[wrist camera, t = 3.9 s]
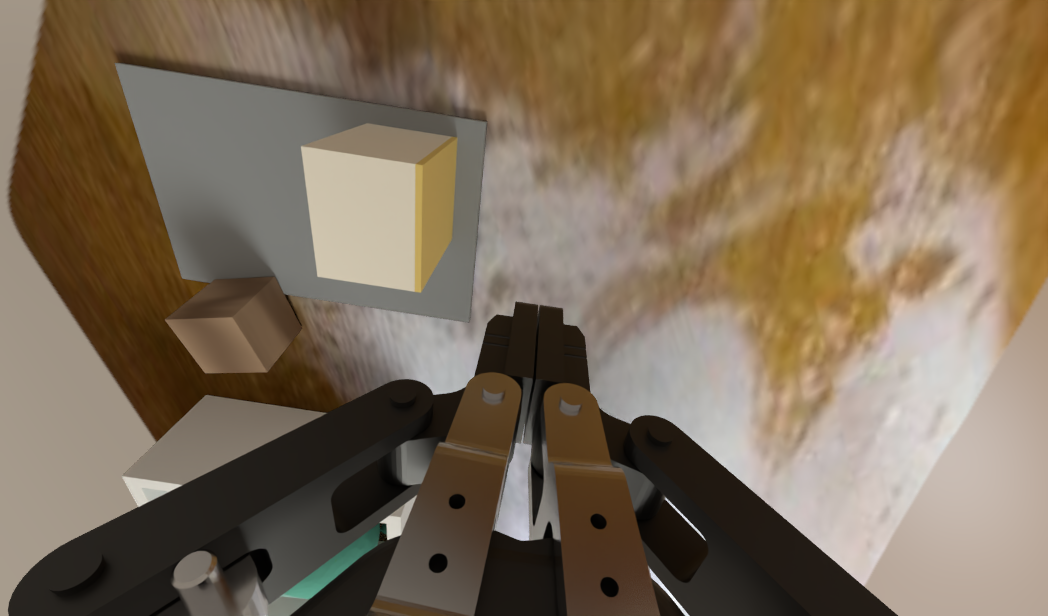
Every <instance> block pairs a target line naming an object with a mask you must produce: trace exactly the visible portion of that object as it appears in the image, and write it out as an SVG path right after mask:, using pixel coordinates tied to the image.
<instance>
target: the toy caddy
mask: <svg viewBox="0 0 1048 616" xmlns="http://www.w3.org/2000/svg"><path fill="white" fill-rule="evenodd" d="M324 414H326V413H323V412H316V411H310V410H303V409H296V408H290V407H283V406H276V405H270V404H263V403H257V402H250V401H243V400H237V399H230V398H223V397H217V396H210V395H205V396H204V397H203V398H202V399H201V400H200V401H199V402H198V403H197V404H196V405H195V406H194V407H193V408H192V409H191V410H190V411H189V412H188V413H187V414H186V415H185V416H184V417H183V418H181V419H180V420H179V421H178V422H177V423H176V424H175V425H174V426H173V427H172V428H171V429H170V430H169V431H168V432H167V433H166V434H165V435H164V436H163V437H162V438H161V439H160V440H159V441H158V442H156V443H155V444H154V445H153V446H152V447H151V448H150V449H149V450H148V451H147V452H146V453H145V454H144V455H143V456H142V457H141V458H140V459H139V460H138V461H137V462H136V463H135V464H134V465H133V466H132V467H131V468H129V469H128V470H127V471H126V472H125V473H124V474H123V475H122V478H123V480H124V481H125V483H126V485H127V487H128V489H129V491H130V493H131V494H132V496H133V498H134V500H135V502H136V504H137V505H138V507H139V506H141V505H143V504H145V503H147V502H149V501H152V500H154V499H156V498H158V497H160V496H162V495H164V494H166V493H168V492H170V491H172V490H174V489H176V488H178V487H180V486H182V485H184V484H186V483H188V482H190V481H192V480H194V479H196V478H198V477H200V476H202V475H204V474H206V473H208V472H210V471H212V470H214V469H216V468H218V467H220V466H222V465H224V464H226V463H228V462H230V461H232V460H234V459H236V458H238V457H240V456H242V455H244V454H246V453H248V452H250V451H252V450H254V449H256V448H258V447H260V446H262V445H264V444H266V443H268V442H270V441H272V440H274V439H276V438H278V437H280V436H282V435H284V434H286V433H288V432H290V431H292V430H294V429H296V428H298V427H300V426H302V425H304V424H306V423H308V422H310V421H312V420H314V419H316V418H318V417H320V416H322V415H324ZM416 497H417V495H416V496H415V497H414V498H412V499H411V500H410V501H408V502H407V503H406V504H404V505H403V506H401V507H400V508H399V509H397V510H396V511H395V512H393V513H392V514H391V515H389V516H388V517H387V518H385V519H384V520H383V521H381V522H380V523H385V524H387V540H389V539H392V538H394V537H397V536H400V535H401V534H402V531H403V529H404V526H405V524H406V521H407V519H408V516H409V514H410V511H411V509H412V506H413V504H414V502H415V499H416ZM383 542H385V541H378V545H379V544H381V543H383ZM308 600H309V599H300V598H291V597H282V596H280V597H279V598H278V599H276V600H275V601H273V602H272V603H271V604H269V605H268V614H267V616H290V615H291V614H292V613H293V612H295V611H296V610H297V609H298V608H299V607H301V606H302V605H303V604H304V603H306V602H307V601H308Z"/></svg>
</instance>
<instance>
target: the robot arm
mask: <svg viewBox="0 0 1048 616" xmlns="http://www.w3.org/2000/svg"><path fill="white" fill-rule="evenodd" d="M537 316H538V317H537ZM586 358H587V355H586V345H585V337H584V335H583V334H582V333H581V331H580V330H579V328H578V327H577V326H572V325H565V324H563V309H562V308H556V307H550V306H543V305H540V307H539V311H538V305H536V304H529V303H522V302H516V303H515V309H514V315H513V317H510V316H504V315H496V316H495V317H494V318H492V319H491V320H490V321H489V322H488V324H487V328H486V332H485V336H484V340H483V344H482V348H481V352H480V356H479V360H478V364H477V368H476V372H475V376H474V377H473V378H472V379H471V380H470V381H469V382H468V384H467V386H466V387H465V388H463V389H461V390H459V391H456V392H453V393H447V394H438V395H433V393H432V391H431V390H430V388H429V387H428V386H426V385H425V384H423V383H421V382H419V381H416V380H409V379H402V380H395V381H392V382H389V383H387V384H385V385H383V386H381V387H379V388H377V389H375V390H373V391H371V392H369V393H367V394H365V395H363V396H361V397H359V398H357V399H355V400H353V401H351V402H349V403H347V404H345V405H343V406H341V407H339V408H337V409H335V410H332V411H330V412H328V413H326V414H324V415H322V416H320V417H318V418H316V419H314V420H312V421H310V422H308V423H306V424H304V425H302V426H300V427H298V428H296V429H294V430H292V431H290V432H288V433H286V434H284V435H282V436H280V437H278V438H276V439H274V440H272V441H270V442H268V443H266V444H264V445H262V446H260V447H258V448H256V449H254V450H252V451H250V452H248V453H246V454H244V455H242V456H240V457H238V458H236V459H234V460H232V461H230V462H228V463H226V464H224V465H222V466H220V467H218V468H216V469H214V470H212V471H210V472H208V473H206V474H204V475H202V476H200V477H198V478H196V479H194V480H192V481H190V482H188V483H186V484H184V485H182V486H180V487H178V488H176V489H174V490H172V491H170V492H168V493H166V494H164V495H162V496H160V497H158V498H156V499H154V500H152V501H149V502H147V503H145V504H143V505H141V506H139V507H137V508H135V509H133V510H131V511H130V512H127V513H125V514H123V515H121V516H119V517H117V518H115V519H113V520H111V521H109V522H107V523H105V524H103V525H101V526H99V527H97V528H95V529H93V530H91V531H89V532H87V533H85V534H83V535H81V536H79V537H77V538H75V539H73V540H71V541H69V542H67V543H66V544H64V545H62V546H60V547H59V548H57V549H56V550H54V551H53V552H51V553H50V554H48V555H47V556H45V557H44V558H43V559H42V560H40V561H39V562H38V563H37V564H36V565H35V566H34V567H33V568H31V569H30V571H29V572H28V573H27V574H26V575H25V576H24V577H23V579H22V580H21V581H20V582H19V584H18V585H17V587H16V589H15V590H14V592H13V594H12V597H11V599H10V602H9V607H8V613H9V616H267V614H268V605H269V604H271V603H272V602H273V601H275V600H276V599H278V598H279V597H280V596H282V595H283V594H284V593H286V592H287V591H288V590H290V589H291V588H292V587H294V586H295V585H296V584H298V583H299V582H300V581H302V580H303V579H304V578H306V577H307V576H309V575H310V574H311V573H313V572H314V571H315V570H317V569H318V568H319V567H321V566H322V565H323V564H325V563H326V562H327V561H329V560H330V559H331V558H333V557H334V556H335V555H337V554H338V553H339V552H341V551H342V550H344V549H345V548H346V547H348V546H349V545H350V544H352V543H353V542H354V541H356V540H357V539H358V538H360V537H361V536H362V535H364V534H365V533H366V532H368V531H369V530H370V529H372V528H373V527H375V526H376V525H377V524H379V523H380V522H381V521H383V520H384V519H385V518H387V517H388V516H389V515H391V514H392V513H393V512H395V511H396V510H397V509H399V508H400V507H401V506H403V505H404V504H406V503H407V502H408V501H410V500H411V499H412V498H414V497H415V496H416V495H417V497H416V499H415V502H414V504H413V506H412V509H411V511H410V514H409V516H408V519H407V521H406V524H405V526H404V529H403V531H402V534H401V535H400V536H397V537H394V538H392V539H389V540H387V541H385V542H383V543H381V544H379V545H377V546H376V547H374V548H373V549H371V550H370V551H368V552H367V553H365V554H364V555H363V556H361V557H360V558H359V559H358V560H356V561H355V562H354V563H353V564H351V565H350V566H349V567H348V568H347V569H345V570H344V571H343V572H342V573H341V574H339V575H338V576H337V577H336V578H335V579H333V580H332V581H331V582H330V583H328V584H327V585H326V586H325V587H324V588H322V589H321V590H320V591H319V592H318V593H316V594H315V595H314V596H313V597H312V598H310V599H309V600H308V601H307V602H306V603H304V604H303V605H302V606H301V607H299V608H298V609H297V610H296V611H295V612H293V613H292V614H291V615H290V616H685V615H684V614H683V613H682V611H681V610H680V609H679V608H678V606H677V605H676V604H675V602H674V601H673V600H672V599H671V598H670V596H669V595H668V594H667V593H666V592H665V591H664V590H663V589H662V588H661V587H660V586H659V585H658V584H657V583H656V582H655V581H654V580H653V579H652V578H651V574H650V569H651V570H652V571H653V572H654V573H655V575H656V576H657V577H658V578H659V579H660V581H661V582H662V583H663V584H664V585H665V587H666V588H667V589H668V590H669V591H670V593H671V594H672V595H673V596H674V597H675V599H676V600H677V601H678V602H679V603H680V605H681V606H682V607H683V608H684V609H685V611H686V612H687V613H688V614H689V615H690V616H898V615H897V614H895V613H894V612H893V611H892V610H891V609H889V608H888V607H887V606H886V605H885V604H884V603H883V602H881V601H880V600H879V599H878V598H877V597H876V596H874V595H873V594H872V593H871V592H870V591H869V590H867V589H866V588H865V587H864V586H863V585H862V584H860V583H859V582H858V581H857V580H856V579H854V578H853V577H852V576H851V575H850V574H849V573H847V572H846V571H845V570H844V569H843V568H842V567H840V566H839V565H838V564H837V563H836V562H835V561H833V560H832V559H831V558H830V557H829V556H828V555H826V554H825V553H824V552H823V551H822V550H821V549H819V548H818V547H817V546H816V545H815V544H814V543H812V542H811V541H810V540H809V539H808V538H807V537H805V536H804V535H803V534H802V533H801V532H800V531H798V530H797V529H796V528H795V527H794V526H793V525H791V524H790V523H789V522H788V521H787V520H786V519H784V518H783V517H782V516H781V515H780V514H779V513H777V512H776V511H775V510H774V509H773V508H771V507H770V506H769V505H768V504H767V503H766V502H764V501H763V500H762V499H761V498H760V497H759V496H757V495H756V494H755V493H754V492H753V491H752V490H750V489H749V488H748V487H747V486H746V485H745V484H743V483H742V482H741V481H740V480H739V479H738V478H736V477H735V476H734V475H733V474H732V473H731V472H729V471H728V470H727V469H726V468H725V467H724V466H722V465H721V464H720V463H719V462H718V461H717V460H715V459H714V458H713V457H712V456H711V455H710V454H708V453H707V452H706V451H705V450H704V449H703V448H701V447H700V446H699V445H698V444H697V443H696V442H694V441H693V440H692V439H691V438H690V437H689V436H687V435H686V434H685V433H684V432H683V431H681V430H680V429H679V428H678V427H677V426H675V425H674V424H673V423H671V422H669V421H668V420H666V419H663V418H660V417H657V416H651V415H645V416H640V417H637V418H636V419H634V420H633V421H632V423H631V424H629V423H626V422H624V421H621V420H619V419H616V418H614V417H612V416H610V415H608V414H607V413H605V412H604V411H602V410H601V409H600V408H599V406H598V403H597V400H596V398H595V397H594V396H593V395H592V394H591V393H590V384H589V375H588V365H587V359H586ZM524 424H525V429H524ZM523 429H524V441H523V443H524V444H531V445H532V449H531V458H530V463H529V467H528V489H529V541H520V540H517V539H514V538H512V537H509V536H507V535H505V534H502V533H500V532H497V531H496V527H497V522H498V517H499V512H500V507H501V502H502V497H503V492H504V488H505V483H506V478H507V473H508V468H509V463H510V462H511V460H512V458H513V454H514V448H515V443H521V440H522V435H523ZM665 497H666V498H667V499H668V500H669V501H670V502H671V503H672V504H673V505H674V506H675V507H676V508H677V509H678V510H679V511H680V512H681V513H682V514H683V515H684V516H685V517H686V518H687V519H688V520H689V521H690V522H691V523H692V524H693V525H694V526H695V527H696V528H697V529H698V530H699V531H700V532H701V534H702V535H703V536H704V538H705V540H706V541H705V540H704V539H703V538H702V537H701V536H700V535H699V534H698V533H697V532H696V531H695V530H694V529H693V528H692V527H691V526H690V525H689V524H688V522H687V521H686V520H685V519H684V518H683V517H682V516H681V515H680V514H679V513H678V512H677V511H676V510H675V509H674V508H673V507H672V506H671V505H670V504H669V503H668V502H667V501H666V500H665ZM649 568H650V569H649Z"/></svg>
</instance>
